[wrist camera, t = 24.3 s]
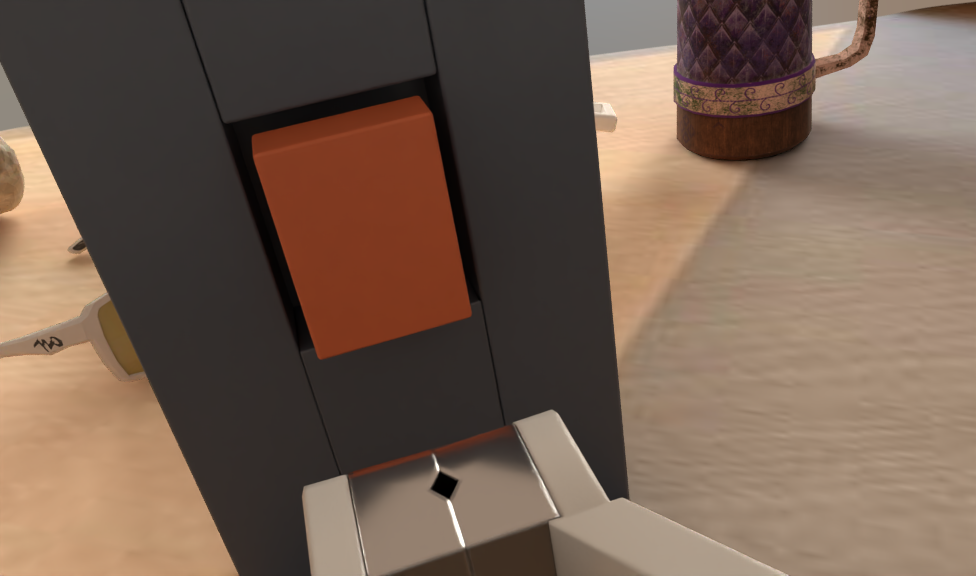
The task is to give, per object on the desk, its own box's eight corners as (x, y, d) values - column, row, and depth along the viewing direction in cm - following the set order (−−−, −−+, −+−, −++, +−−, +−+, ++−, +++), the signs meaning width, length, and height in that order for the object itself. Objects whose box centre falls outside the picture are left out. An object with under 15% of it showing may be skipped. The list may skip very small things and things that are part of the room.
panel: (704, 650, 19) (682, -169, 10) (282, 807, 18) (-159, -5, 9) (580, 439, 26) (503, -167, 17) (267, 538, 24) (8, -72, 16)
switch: (473, 317, 17) (432, 111, 14) (319, 362, 16) (251, 155, 14) (459, 290, 18) (419, 93, 15) (313, 331, 17) (249, 133, 15)
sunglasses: (184, 410, 30) (116, 298, 28) (-87, 431, 36) (-162, 339, 33) (338, 228, 42) (299, 138, 39) (114, 265, 47) (69, 188, 45)
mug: (682, 169, 42) (674, -84, 35) (668, 120, 48) (659, -105, 41) (895, 147, 40) (925, -122, 34) (852, 99, 46) (871, -138, 40)
